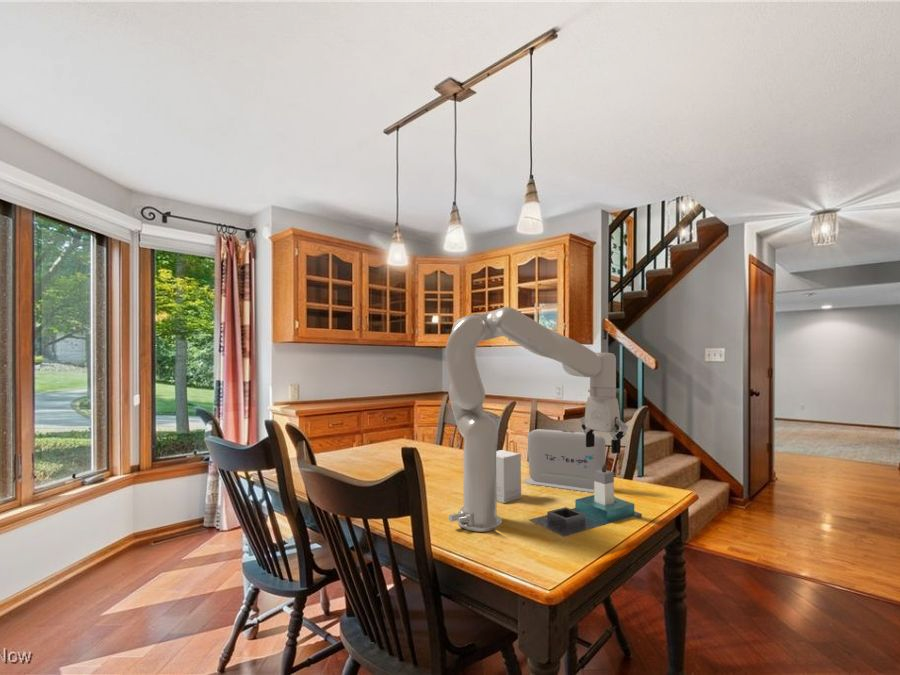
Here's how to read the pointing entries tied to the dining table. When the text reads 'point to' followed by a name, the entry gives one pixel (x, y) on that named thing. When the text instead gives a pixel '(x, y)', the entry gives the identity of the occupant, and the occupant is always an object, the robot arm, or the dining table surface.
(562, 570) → the dining table surface
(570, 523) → the panel
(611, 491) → the plug
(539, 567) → the dining table surface
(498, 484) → the supplement box
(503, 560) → the dining table surface
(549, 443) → the wireless router
